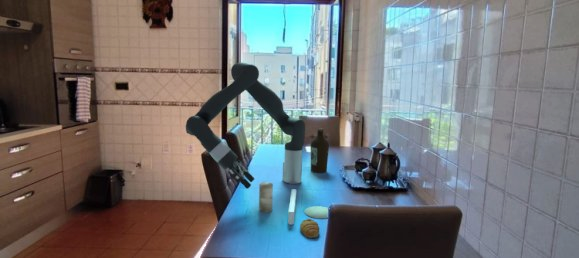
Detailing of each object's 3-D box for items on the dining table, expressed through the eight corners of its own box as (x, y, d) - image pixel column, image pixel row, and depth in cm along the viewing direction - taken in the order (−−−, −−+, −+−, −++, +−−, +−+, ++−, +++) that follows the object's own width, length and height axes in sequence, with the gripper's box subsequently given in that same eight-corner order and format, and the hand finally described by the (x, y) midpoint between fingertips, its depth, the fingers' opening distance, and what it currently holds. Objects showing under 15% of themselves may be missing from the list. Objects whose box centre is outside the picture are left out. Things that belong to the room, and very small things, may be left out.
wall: (291, 200, 161) (291, 189, 160) (295, 200, 161) (296, 189, 160) (288, 224, 135) (288, 211, 135) (293, 224, 135) (293, 212, 135)
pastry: (323, 238, 125) (323, 228, 125) (304, 240, 124) (304, 229, 123) (316, 227, 134) (316, 217, 134) (298, 228, 133) (298, 218, 132)
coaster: (298, 211, 148) (298, 210, 148) (318, 205, 156) (318, 204, 156) (319, 221, 139) (319, 220, 139) (340, 213, 147) (340, 212, 147)
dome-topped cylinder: (256, 209, 149) (256, 183, 147) (266, 206, 153) (267, 181, 151) (264, 213, 145) (265, 187, 143) (275, 210, 149) (275, 184, 147)
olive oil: (321, 167, 217) (323, 126, 213) (331, 172, 208) (333, 129, 204) (306, 169, 212) (307, 127, 208) (315, 174, 203) (317, 130, 199)
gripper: (226, 153, 139) (255, 183, 140) (233, 145, 153) (260, 173, 154) (212, 165, 140) (241, 195, 141) (221, 157, 154) (247, 184, 155)
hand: (251, 183), depth 147 cm, fingers open, 8 cm apart
